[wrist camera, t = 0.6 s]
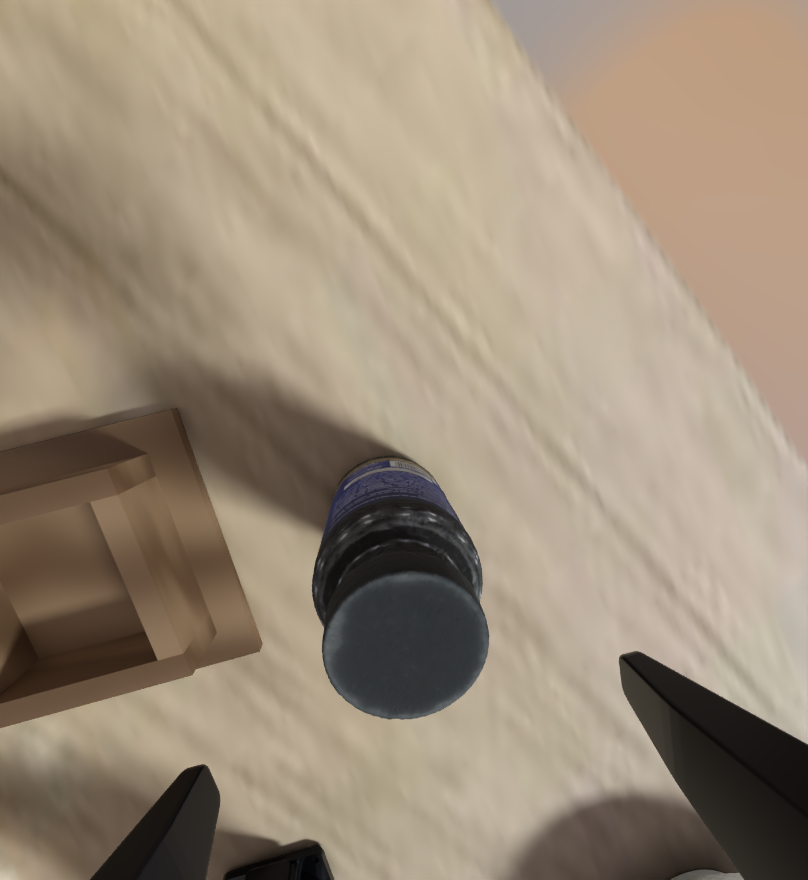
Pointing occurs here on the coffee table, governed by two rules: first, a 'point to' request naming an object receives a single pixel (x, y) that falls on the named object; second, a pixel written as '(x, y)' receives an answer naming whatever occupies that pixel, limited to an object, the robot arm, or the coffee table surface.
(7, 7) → the coffee table surface
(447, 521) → the pill bottle
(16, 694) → the walnut holder
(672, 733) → the robot arm
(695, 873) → the cereal bowl
